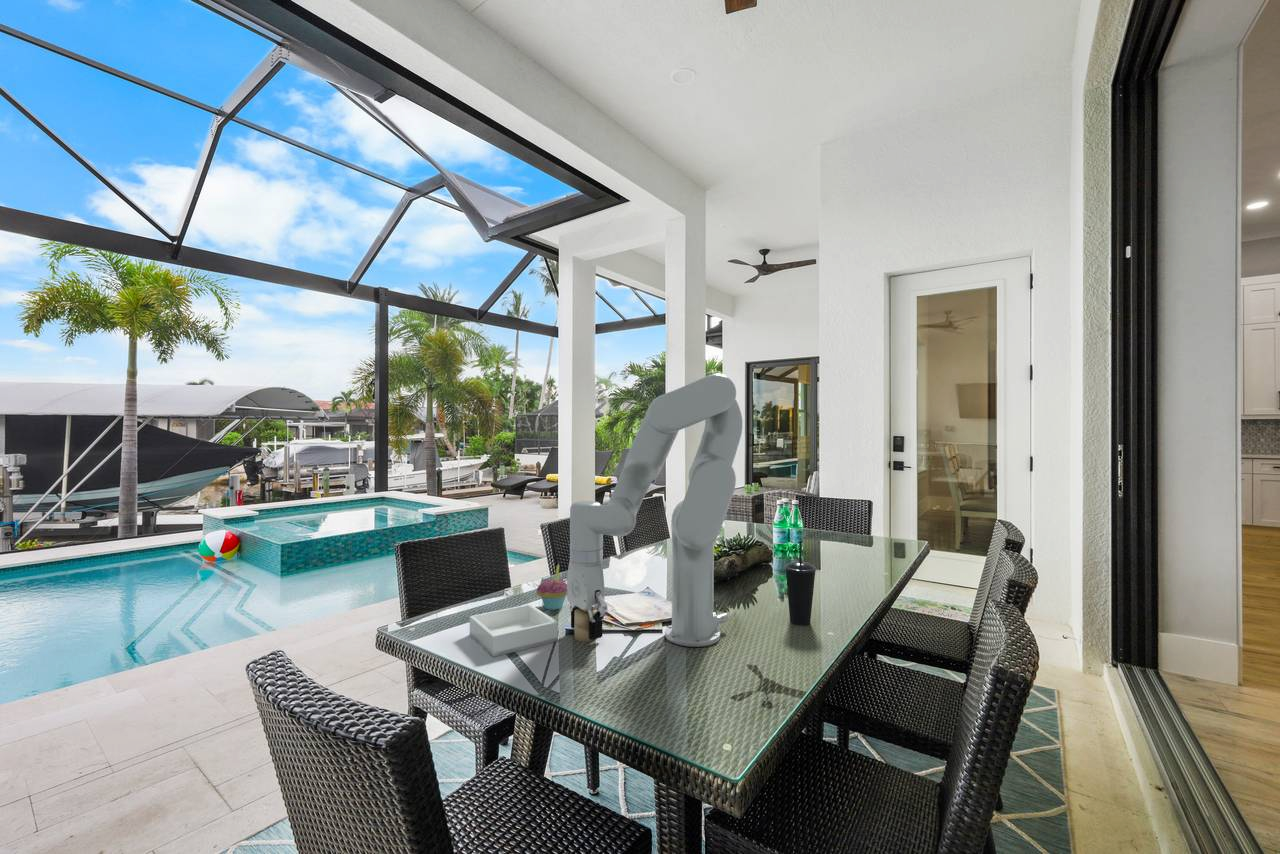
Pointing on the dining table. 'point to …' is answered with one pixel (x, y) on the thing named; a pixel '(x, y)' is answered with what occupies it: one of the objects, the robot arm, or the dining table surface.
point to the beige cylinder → (582, 625)
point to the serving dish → (513, 629)
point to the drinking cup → (800, 589)
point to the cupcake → (553, 592)
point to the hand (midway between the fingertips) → (586, 631)
